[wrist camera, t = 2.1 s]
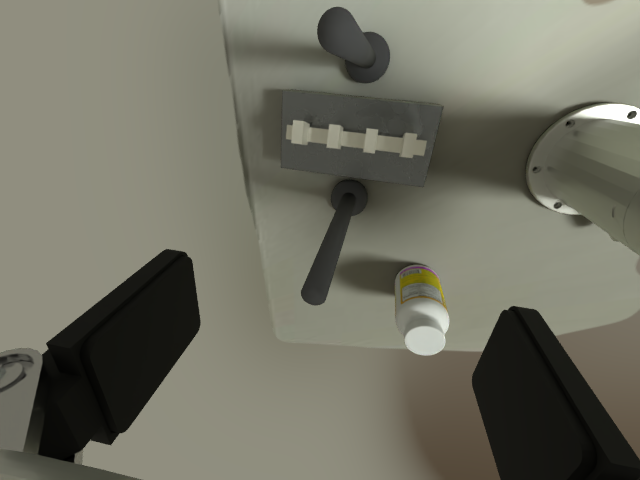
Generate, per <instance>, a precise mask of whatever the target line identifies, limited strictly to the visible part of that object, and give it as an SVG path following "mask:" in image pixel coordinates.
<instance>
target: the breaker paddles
mask: <svg viewBox="0 0 640 480" xmlns="http://www.w3.org/2000/svg"><path fill="white" fill-rule="evenodd" d="M416 138H417V134H413V133H405V134H403V138H398V137H389V136H381V135H378V129H369V128H367V130H366V134H363V133H355V132H346V131H343V127H342V126H341V125H333V124H329V129H320V128H311V127H310V124H309V123H307V122H305V121H298V120H293V125H287V131H286V139H289V140H291V143H294V144H302V145H308V142H313V143H322V144H327V148H334V149H341V146H346V147H354V148H362V149H363V152H366V153H374V154H375V150H379V151H387V152H395V153H400V155H399V157H406V158H413V155H420V156H424V153H425V148H426V143H427V141H424V140H416Z"/></svg>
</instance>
